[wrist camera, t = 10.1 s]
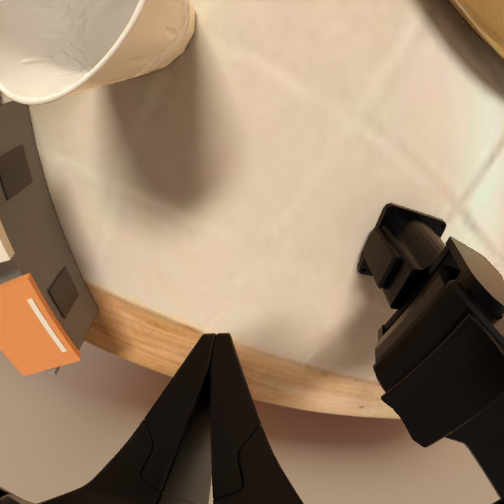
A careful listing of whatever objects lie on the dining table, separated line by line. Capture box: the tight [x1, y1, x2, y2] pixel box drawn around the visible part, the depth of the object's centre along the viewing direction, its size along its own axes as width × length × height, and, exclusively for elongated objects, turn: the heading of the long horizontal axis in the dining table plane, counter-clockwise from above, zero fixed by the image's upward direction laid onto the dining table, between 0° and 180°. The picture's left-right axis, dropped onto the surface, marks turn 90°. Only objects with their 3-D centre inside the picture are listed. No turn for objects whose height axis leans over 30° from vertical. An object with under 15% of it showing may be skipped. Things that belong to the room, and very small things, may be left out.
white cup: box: [0, 0, 195, 105], centre depth 9 cm, size 8×8×10 cm
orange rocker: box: [0, 273, 81, 376], centre depth 17 cm, size 7×9×1 cm
